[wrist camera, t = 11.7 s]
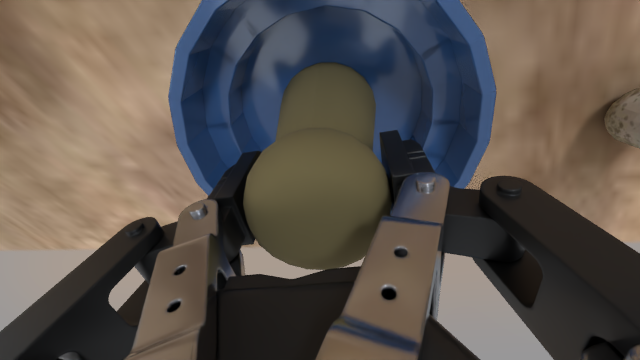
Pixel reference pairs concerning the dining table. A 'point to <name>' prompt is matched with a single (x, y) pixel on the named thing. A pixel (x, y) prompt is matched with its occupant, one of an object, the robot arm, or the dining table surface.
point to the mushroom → (625, 119)
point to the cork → (320, 173)
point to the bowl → (341, 47)
